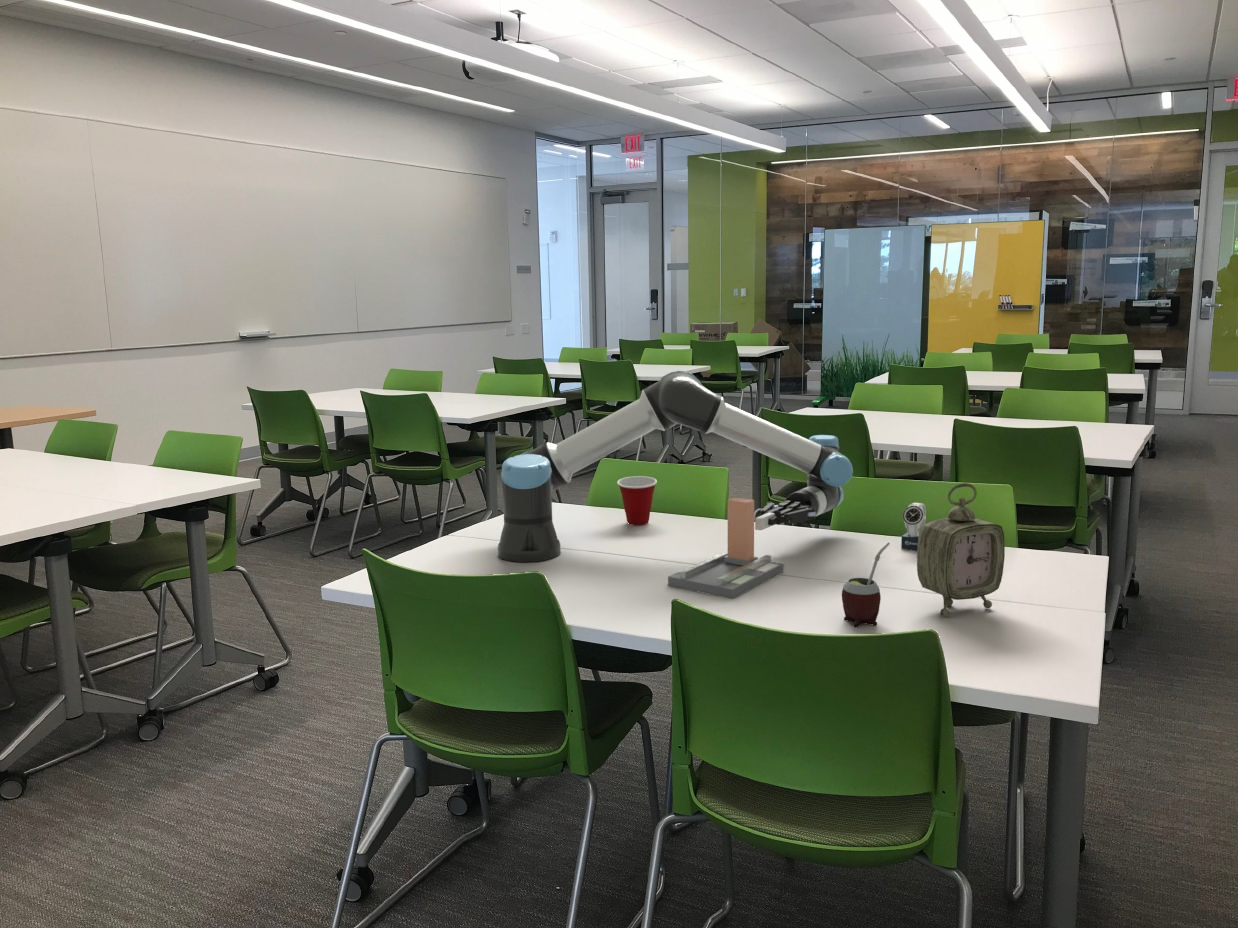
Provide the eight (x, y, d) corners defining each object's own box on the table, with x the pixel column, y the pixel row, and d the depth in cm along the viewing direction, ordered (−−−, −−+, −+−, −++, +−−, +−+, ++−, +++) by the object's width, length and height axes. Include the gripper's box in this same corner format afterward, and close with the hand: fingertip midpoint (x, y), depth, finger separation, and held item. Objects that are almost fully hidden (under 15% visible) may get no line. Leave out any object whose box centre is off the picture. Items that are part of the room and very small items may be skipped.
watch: (898, 550, 226) (900, 505, 224) (909, 542, 233) (910, 499, 231) (922, 553, 223) (923, 508, 221) (932, 546, 230) (934, 501, 228)
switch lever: (723, 562, 212) (723, 499, 209) (732, 557, 215) (732, 496, 212) (748, 566, 208) (749, 503, 205) (757, 562, 211) (758, 499, 208)
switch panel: (668, 585, 203) (667, 569, 203) (721, 561, 220) (721, 546, 220) (732, 598, 194) (732, 582, 193) (783, 572, 211) (783, 557, 210)
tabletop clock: (943, 621, 178) (948, 491, 174) (910, 607, 186) (915, 482, 182) (1001, 609, 184) (1008, 483, 179) (967, 596, 192) (973, 475, 188)
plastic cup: (614, 527, 254) (613, 483, 251) (621, 518, 264) (620, 475, 262) (655, 528, 252) (654, 484, 250) (660, 518, 262) (659, 476, 260)
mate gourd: (836, 624, 178) (837, 547, 175) (849, 612, 184) (851, 537, 182) (875, 631, 174) (878, 552, 171) (888, 618, 180) (890, 542, 178)
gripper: (829, 522, 229) (783, 544, 211) (780, 516, 237) (732, 536, 219) (830, 492, 228) (784, 511, 210) (781, 486, 236) (733, 504, 217)
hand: (758, 524), depth 214 cm, fingers closed
